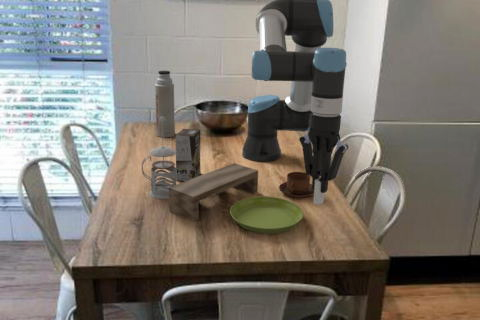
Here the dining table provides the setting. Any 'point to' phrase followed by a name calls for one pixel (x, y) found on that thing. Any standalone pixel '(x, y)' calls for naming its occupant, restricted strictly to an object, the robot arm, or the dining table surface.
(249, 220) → the green plate
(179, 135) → the coffee box
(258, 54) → the robot arm
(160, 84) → the thermos bottle
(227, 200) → the dining table surface
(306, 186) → the cup and saucer
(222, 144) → the dining table surface
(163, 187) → the french press
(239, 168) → the stand
